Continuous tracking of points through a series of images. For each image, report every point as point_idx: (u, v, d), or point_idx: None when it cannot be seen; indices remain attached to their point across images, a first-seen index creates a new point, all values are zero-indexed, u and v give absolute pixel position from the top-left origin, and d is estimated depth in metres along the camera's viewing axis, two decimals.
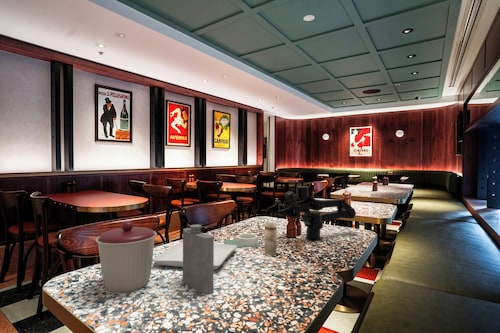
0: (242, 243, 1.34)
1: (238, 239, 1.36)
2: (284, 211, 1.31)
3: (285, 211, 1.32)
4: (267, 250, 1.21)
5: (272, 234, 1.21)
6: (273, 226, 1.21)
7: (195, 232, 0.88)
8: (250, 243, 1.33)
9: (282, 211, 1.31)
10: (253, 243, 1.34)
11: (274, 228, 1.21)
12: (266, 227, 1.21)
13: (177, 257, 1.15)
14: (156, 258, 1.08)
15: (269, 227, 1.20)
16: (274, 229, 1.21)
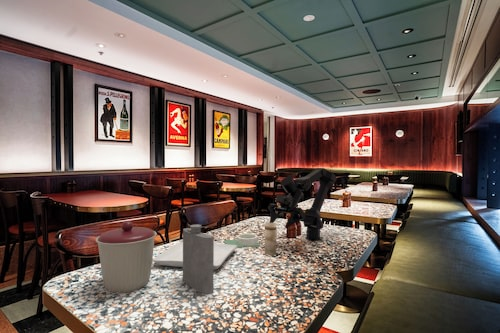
0: (242, 243, 1.34)
1: (238, 239, 1.36)
2: (290, 221, 1.24)
3: (291, 220, 1.24)
4: (267, 250, 1.21)
5: (272, 234, 1.21)
6: (273, 226, 1.21)
7: (195, 232, 0.88)
8: (250, 243, 1.33)
9: (289, 223, 1.23)
10: (253, 243, 1.34)
11: (274, 228, 1.21)
12: (266, 227, 1.21)
13: (177, 257, 1.15)
14: (156, 258, 1.08)
15: (269, 227, 1.20)
16: (274, 229, 1.21)
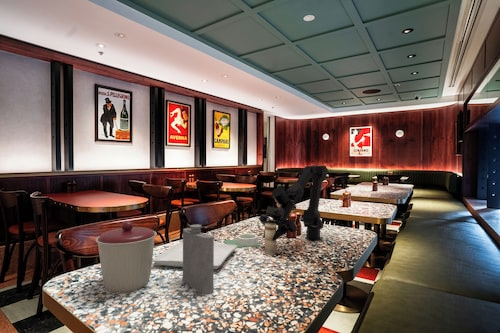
0: (242, 243, 1.34)
1: (238, 239, 1.36)
2: (277, 233, 1.21)
3: (279, 233, 1.21)
4: (267, 250, 1.21)
5: (272, 234, 1.21)
6: (273, 226, 1.21)
7: (195, 232, 0.88)
8: (250, 243, 1.33)
9: (276, 235, 1.20)
10: (253, 243, 1.34)
11: (274, 228, 1.21)
12: (266, 227, 1.21)
13: (177, 257, 1.15)
14: (156, 258, 1.08)
15: (269, 227, 1.20)
16: (274, 229, 1.21)
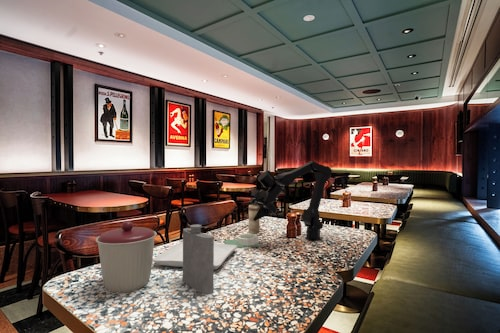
0: (242, 243, 1.34)
1: (238, 239, 1.36)
2: (258, 214, 1.28)
3: (260, 213, 1.28)
4: (249, 229, 1.30)
5: (253, 215, 1.29)
6: (254, 207, 1.29)
7: (195, 232, 0.88)
8: (250, 243, 1.33)
9: (257, 216, 1.28)
10: (253, 243, 1.34)
11: (256, 209, 1.29)
12: (249, 208, 1.30)
13: (177, 257, 1.15)
14: (156, 258, 1.08)
15: (251, 208, 1.29)
16: (255, 210, 1.29)
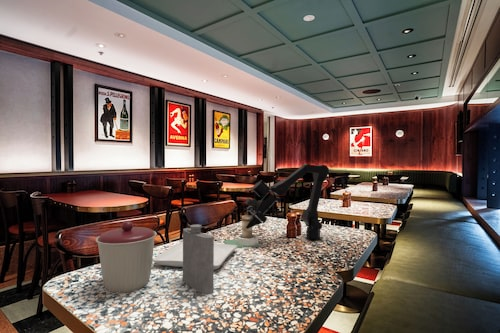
0: (242, 243, 1.34)
1: (238, 239, 1.36)
2: (251, 222, 1.33)
3: (252, 222, 1.33)
4: None
5: (245, 225, 1.36)
6: (246, 218, 1.35)
7: (195, 232, 0.88)
8: (250, 243, 1.33)
9: (249, 224, 1.33)
10: (253, 243, 1.34)
11: (248, 220, 1.35)
12: (242, 218, 1.38)
13: (177, 257, 1.15)
14: (156, 258, 1.08)
15: (243, 218, 1.36)
16: (247, 221, 1.35)
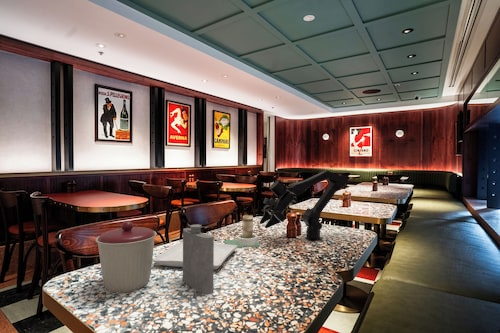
0: (242, 243, 1.34)
1: (238, 239, 1.36)
2: (269, 222, 1.35)
3: (271, 221, 1.35)
4: None
5: (246, 225, 1.36)
6: (247, 218, 1.35)
7: (195, 232, 0.88)
8: (250, 243, 1.33)
9: (268, 223, 1.35)
10: (253, 243, 1.34)
11: (248, 220, 1.35)
12: (243, 218, 1.37)
13: (177, 257, 1.15)
14: (156, 258, 1.08)
15: (244, 218, 1.36)
16: (248, 221, 1.35)
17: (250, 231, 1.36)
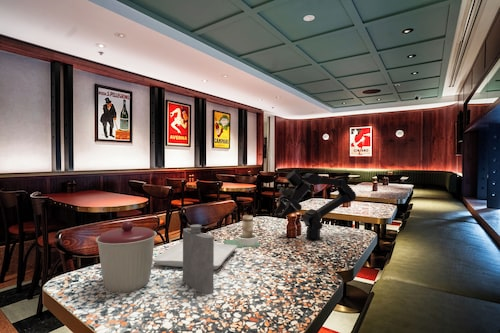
0: (242, 243, 1.34)
1: (238, 239, 1.36)
2: (286, 211, 1.36)
3: (287, 210, 1.36)
4: None
5: (246, 225, 1.35)
6: (247, 218, 1.35)
7: (195, 232, 0.88)
8: (250, 243, 1.33)
9: (285, 212, 1.36)
10: (253, 243, 1.34)
11: (248, 220, 1.35)
12: (242, 218, 1.37)
13: (177, 257, 1.15)
14: (156, 258, 1.08)
15: (244, 218, 1.36)
16: (248, 221, 1.35)
17: (250, 231, 1.36)
